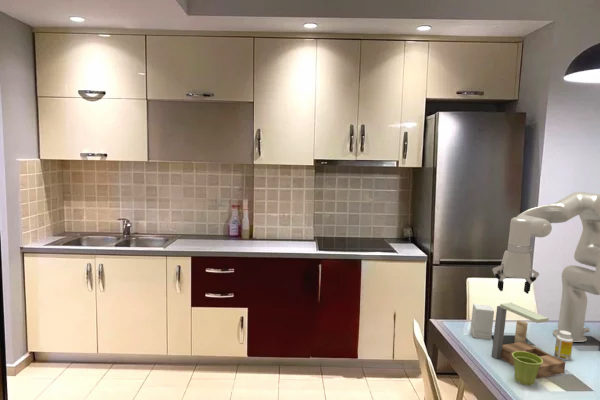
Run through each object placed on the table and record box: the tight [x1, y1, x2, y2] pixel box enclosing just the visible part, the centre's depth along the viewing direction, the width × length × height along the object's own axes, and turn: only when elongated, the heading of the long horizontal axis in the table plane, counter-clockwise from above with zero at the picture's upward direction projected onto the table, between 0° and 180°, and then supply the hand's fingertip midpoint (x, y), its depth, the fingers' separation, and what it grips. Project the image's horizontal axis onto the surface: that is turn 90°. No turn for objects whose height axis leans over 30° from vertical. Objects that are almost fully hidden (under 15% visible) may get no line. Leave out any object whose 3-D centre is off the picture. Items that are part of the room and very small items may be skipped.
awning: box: [491, 302, 550, 360], centre depth 166 cm, size 6×17×21 cm, turn 23°
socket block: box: [500, 342, 567, 379], centre depth 169 cm, size 14×18×4 cm
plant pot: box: [512, 351, 543, 386], centre depth 155 cm, size 9×9×9 cm
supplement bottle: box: [553, 331, 574, 361], centre depth 176 cm, size 6×6×10 cm
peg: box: [514, 320, 528, 343], centre depth 185 cm, size 4×4×10 cm
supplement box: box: [470, 303, 495, 341], centre depth 193 cm, size 7×7×13 cm
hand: (513, 291), depth 180 cm, fingers open, 9 cm apart
